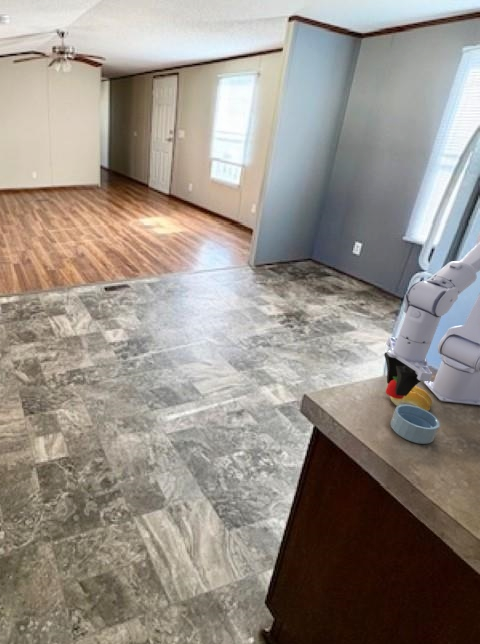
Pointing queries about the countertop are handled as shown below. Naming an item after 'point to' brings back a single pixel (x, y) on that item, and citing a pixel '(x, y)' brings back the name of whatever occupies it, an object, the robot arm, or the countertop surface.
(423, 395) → the bread roll
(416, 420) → the bowl
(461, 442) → the countertop surface
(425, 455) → the countertop surface
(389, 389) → the strawberry
